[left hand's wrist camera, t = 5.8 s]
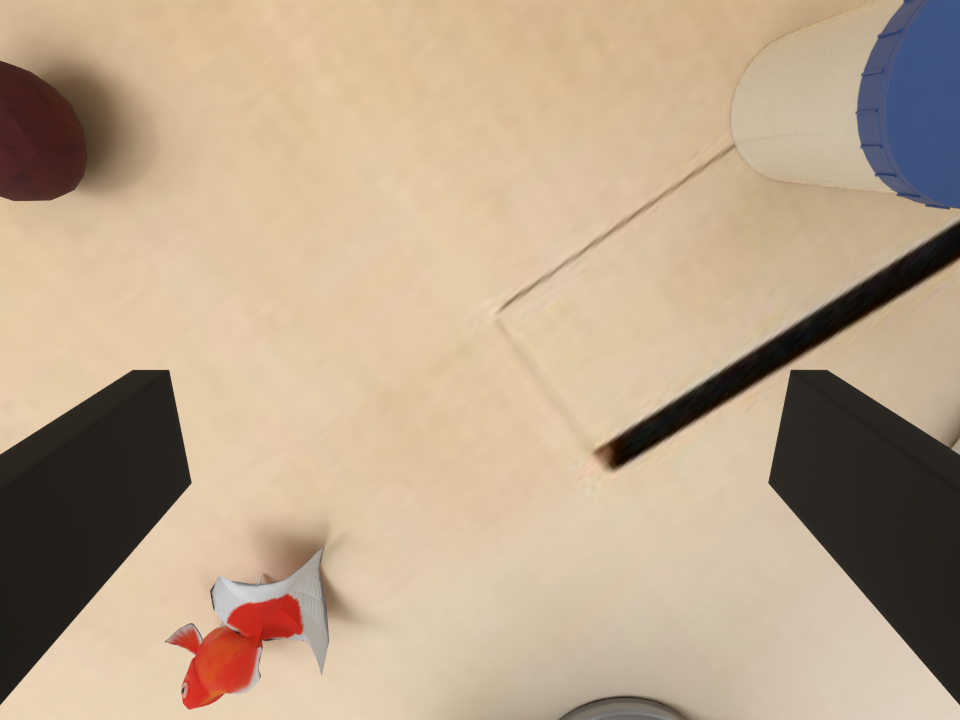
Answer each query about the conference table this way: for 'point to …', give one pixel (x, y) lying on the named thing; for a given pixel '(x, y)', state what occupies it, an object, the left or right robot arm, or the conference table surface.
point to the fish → (252, 631)
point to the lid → (915, 103)
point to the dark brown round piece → (37, 139)
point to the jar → (810, 102)
